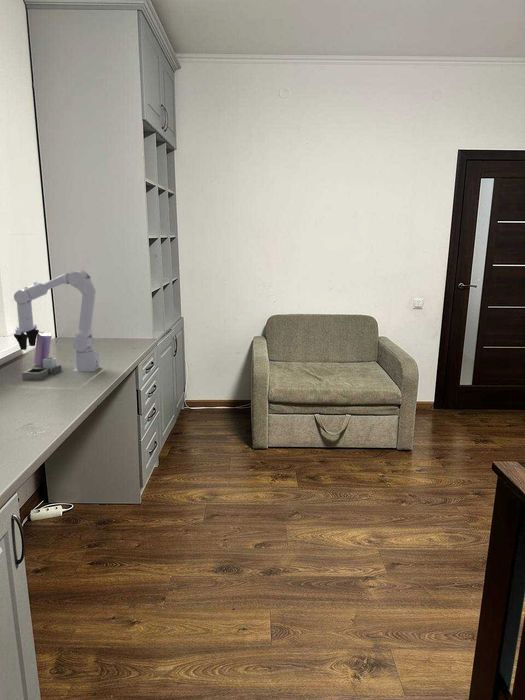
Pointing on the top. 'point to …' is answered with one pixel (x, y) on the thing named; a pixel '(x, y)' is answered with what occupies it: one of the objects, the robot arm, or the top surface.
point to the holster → (55, 370)
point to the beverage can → (42, 347)
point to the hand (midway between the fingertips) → (28, 347)
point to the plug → (49, 363)
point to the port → (36, 374)
